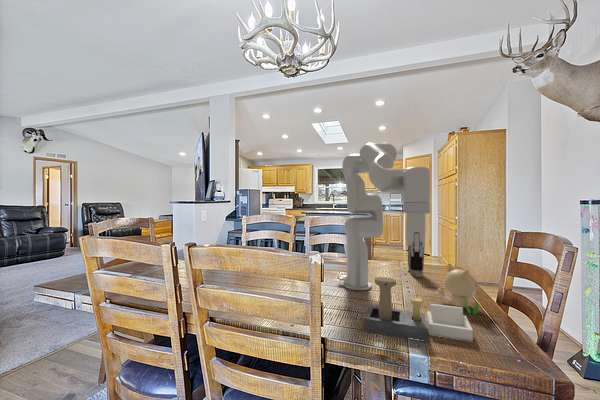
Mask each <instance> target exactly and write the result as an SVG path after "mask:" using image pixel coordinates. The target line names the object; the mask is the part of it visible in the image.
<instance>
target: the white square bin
mask: <svg viewBox="0 0 600 400" xmlns="http://www.w3.org/2000/svg"><path fill="white" fill-rule="evenodd" d="M426 312H427V314H426V315H427V316H426V318H427V321H426V323H427V322H428V323H427V328H429V329H428V335H433V336H432V337H434V336H441V337H447V338H451V339H450V340H453V339H455V341H459V340H460V341H459V342H465V343H466V342H467V343H471V344H472V343H474V330H473V328H472V326H471V324H470V322H469V319H468V317H467V315H464V308H462V307H457V306H455V305H445V304H436V303H430V310H427V311H426ZM447 338H446V339H447Z"/></svg>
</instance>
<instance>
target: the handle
mask: <svg viewBox="0 0 600 400" xmlns="http://www.w3.org/2000/svg"><path fill="white" fill-rule="evenodd" d="M374 284H376V285H377V286H378V287H379V299H378V307H379V319H385V320H392V309H393V306H392V305H393V304H392V303H393V302H392V288H393V287H395V286H396V285H397V279H395V278H392V277H384V276H382V277H380V276H379V277H378V276H377V277H375V278H374Z"/></svg>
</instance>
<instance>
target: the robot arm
mask: <svg viewBox="0 0 600 400" xmlns="http://www.w3.org/2000/svg"><path fill="white" fill-rule="evenodd" d="M397 155H398V152H397V149H396V147H395V146H394V145H393V144H391V143H382V142H368V143H365V144H363V145H362V146H361V148H360V149H359V153H353V154H348V155H346V156H345V157H343V161H342V165H341V166H342V168H341V169H342V174H343V177H344V180H345V186H346V189H345V190H346V204H347V205H346V206H347V211H348V213H350V214H352V215H369V216H355V217H349V218H348V219H346V221H345V222H344V232H345V239H346V240H345V241H346V275H340V274H338V275H337V280H339V281H340V282H342V281H343V287H344V288H346V289H348V290H353V291H367V290H370V289H372V288H373V287H372V283H371V282H370V281H369V247H368V245H367V243H366V242H365V241H364V239H365V238H366V239H367V238H368V239H369V238H372V239H373V238H379V237H382V235H383V233H384V213H383V212H384V211H383V210H384V209H383V208H384V207H383V201H382V199H381V196H379V194H377V193H367V192H366V183H365V180H363V178H362V177H361V175H360V174H368V178H369V181H370V183H371V185H373V187H375V188H376V189H377V190H379V191H380V192H383V193H402V213H403V214H406V219H405V222H406V223H405V227H406V229H405V234H406V236H405V237H406V238H405V239H406V240H405V241H406V245H405V246H406V247H407V248H408V247H409V245H410V246H411V270H418V271H422V248H423V247H424V244H425V243H426V230H427V229H426V227H427V226H426V225H427V224H426V223H427V222H426V221H427V219H426V214H431V170H430V169H429V168H428V167H426V166H410V167H406V168H393V167H394V164H395V161H396V159H397ZM425 245H426V244H425Z"/></svg>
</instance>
